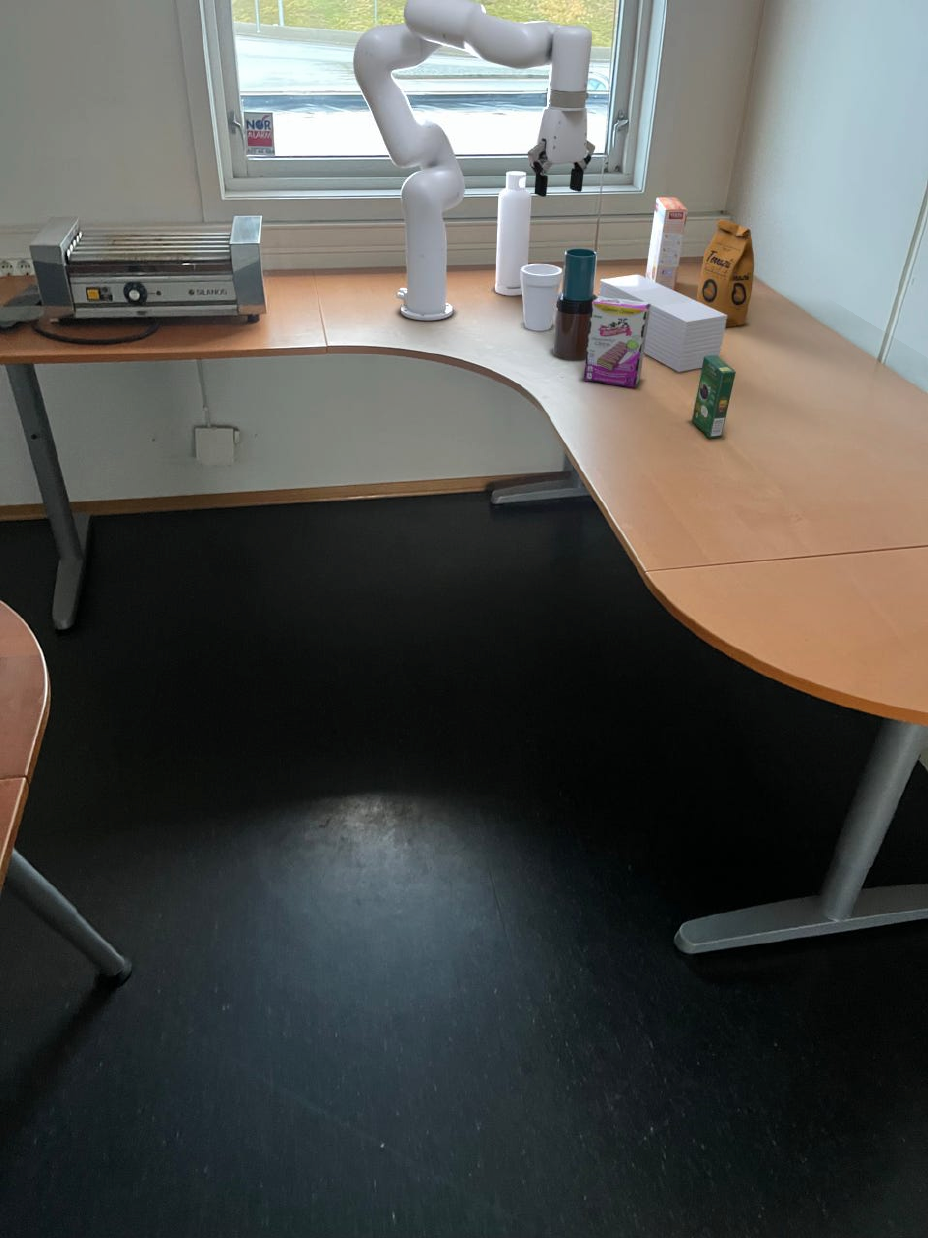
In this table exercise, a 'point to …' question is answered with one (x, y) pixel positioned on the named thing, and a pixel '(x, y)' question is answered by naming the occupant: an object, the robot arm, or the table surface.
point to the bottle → (512, 233)
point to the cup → (579, 274)
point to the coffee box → (713, 396)
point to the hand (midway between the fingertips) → (558, 192)
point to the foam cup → (539, 294)
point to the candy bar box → (616, 341)
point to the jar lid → (574, 305)
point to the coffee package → (728, 272)
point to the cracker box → (666, 241)
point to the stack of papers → (672, 322)
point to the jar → (571, 335)
